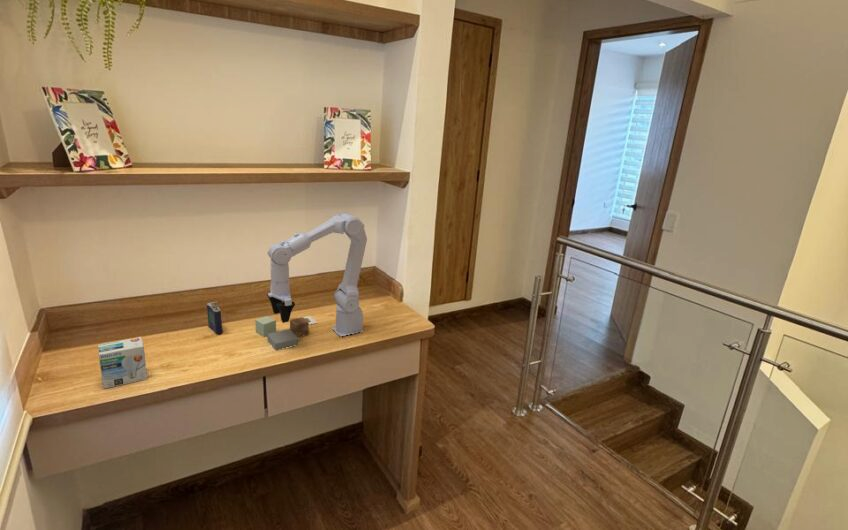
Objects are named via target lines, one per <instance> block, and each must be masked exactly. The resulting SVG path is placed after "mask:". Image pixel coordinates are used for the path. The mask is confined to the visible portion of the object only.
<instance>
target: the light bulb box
mask: <svg viewBox="0 0 848 530" xmlns="http://www.w3.org/2000/svg"><path fill="white" fill-rule="evenodd" d="M97 346H98V361H99V368H100V374H101V380H102V385H103V387H102V388H103V389H104V390H105V389H109V388H113V387H119V386H123V385H124V386H125V385H127V384H131V383H136V382H137V383H138V382H141V381H146V380H148V375H147V364H146V354H145V353H146V352H145V346H144V342H143V338H142V337H141V336H138V337H133V338H127V339H122V340H117V341H112V342H105V343H101V344H98V345H97Z"/></svg>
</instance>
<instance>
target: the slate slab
mask: <svg viewBox="0 0 848 530" xmlns="http://www.w3.org/2000/svg"><path fill="white" fill-rule="evenodd" d="M266 337H267V342H268V343H269V345H270V346H271V345H272V346H271V347H272V349H274V351H275V350H276V351H280V350H279V349H281V350H283V349H282V348H285V349H287V348H286V347H289V348H291V347H290V346H293V347H295V346H294V345H297V346H299V345H298V344H300V343H299V337H297V336H296V335H295V334H294V333H293V332H292V331H291V330H290V328H288V329H283V330H279V331H276V332H273V333H269V334H267V336H266Z"/></svg>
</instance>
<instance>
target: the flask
mask: <svg viewBox="0 0 848 530" xmlns="http://www.w3.org/2000/svg"><path fill="white" fill-rule="evenodd" d="M206 312H207V313H206V315H207V326H208V328H210V330H211V331H212V332H213V333H214V334H215V335H216V336H220V335H223V333H224V331H223V324H222V323H223V322H222V310H221V308H220V306H219V305H218V301H212V302H208V303H206Z"/></svg>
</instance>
